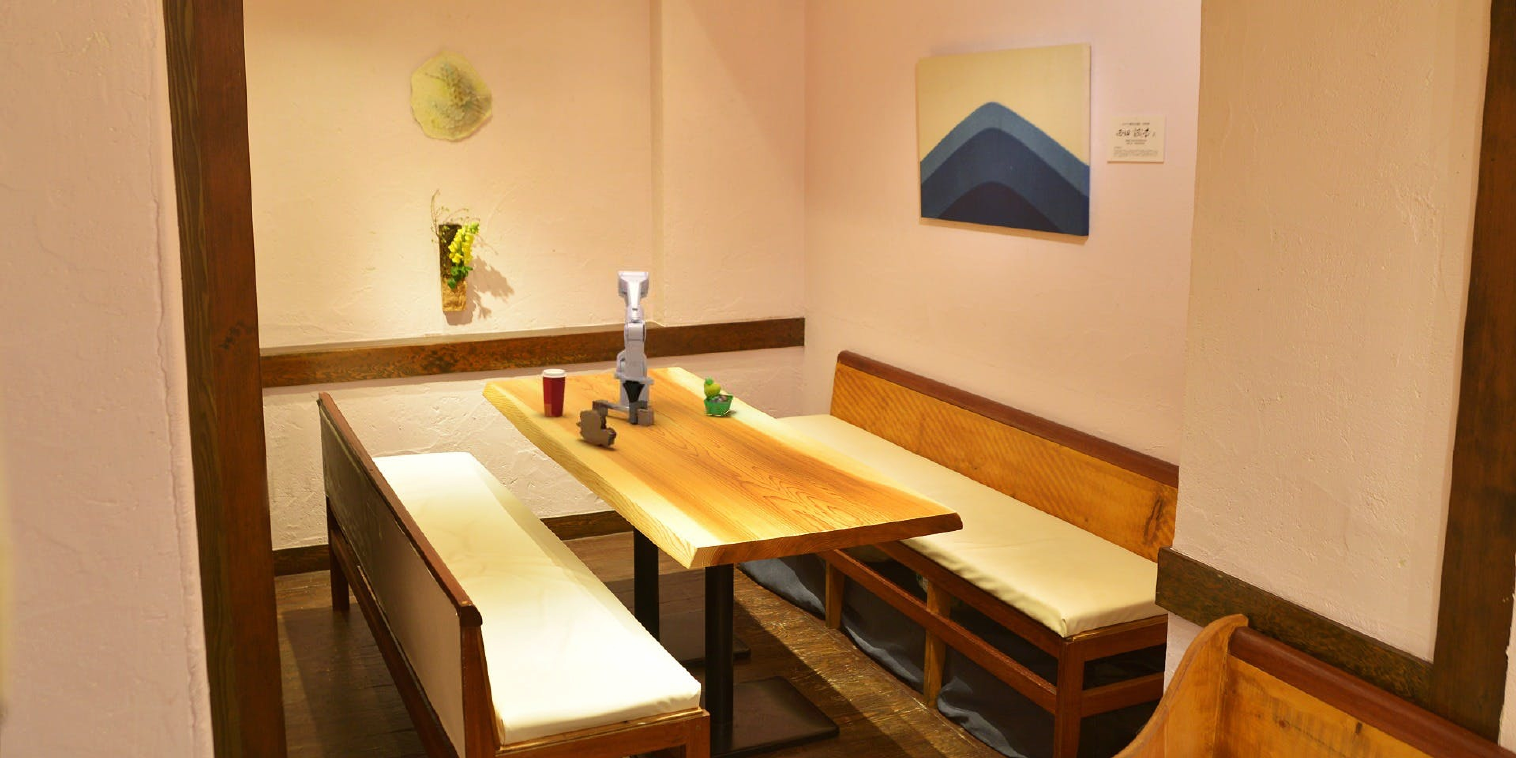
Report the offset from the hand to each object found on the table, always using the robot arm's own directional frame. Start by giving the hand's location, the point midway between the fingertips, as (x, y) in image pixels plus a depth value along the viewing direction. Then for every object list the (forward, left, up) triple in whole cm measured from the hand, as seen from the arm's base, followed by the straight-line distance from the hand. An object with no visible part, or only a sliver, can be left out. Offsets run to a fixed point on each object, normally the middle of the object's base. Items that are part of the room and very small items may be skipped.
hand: (633, 405), depth 396 cm
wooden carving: (+28, +11, -6) cm, 31 cm away
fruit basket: (-28, +11, -6) cm, 30 cm away
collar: (0, +2, -5) cm, 6 cm away
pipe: (0, -4, -5) cm, 7 cm away
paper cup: (+11, -23, -5) cm, 26 cm away
